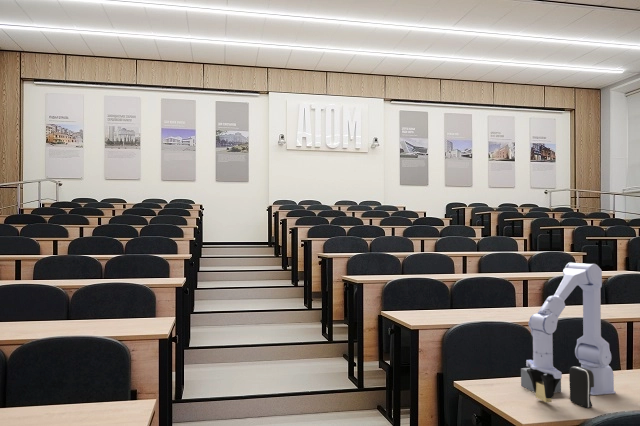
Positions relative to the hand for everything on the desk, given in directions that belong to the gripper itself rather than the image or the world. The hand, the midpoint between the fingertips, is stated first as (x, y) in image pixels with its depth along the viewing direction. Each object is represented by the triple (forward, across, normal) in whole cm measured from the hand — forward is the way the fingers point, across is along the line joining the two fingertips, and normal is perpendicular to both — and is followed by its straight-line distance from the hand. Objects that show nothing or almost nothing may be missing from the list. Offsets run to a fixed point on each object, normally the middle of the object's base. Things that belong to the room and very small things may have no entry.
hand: (543, 395), depth 155 cm
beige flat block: (+1, 0, 0) cm, 1 cm away
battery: (+3, +4, +11) cm, 12 cm away
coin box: (+2, -12, +8) cm, 15 cm away
